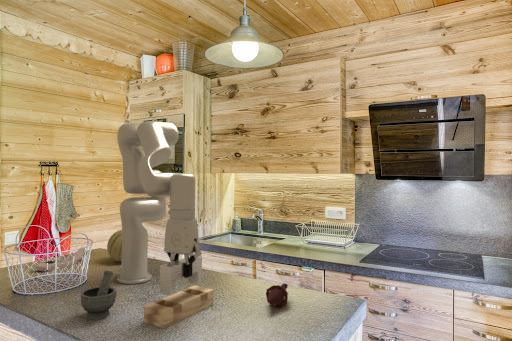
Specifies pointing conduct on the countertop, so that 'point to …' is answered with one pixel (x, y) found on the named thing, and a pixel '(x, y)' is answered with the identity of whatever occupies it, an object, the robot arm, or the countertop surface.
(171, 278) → the grey boxy piece
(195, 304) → the brown wooden rectangular block
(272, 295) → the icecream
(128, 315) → the countertop surface
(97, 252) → the countertop surface
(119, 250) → the cantaloupe
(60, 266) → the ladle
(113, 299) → the mortar and pestle
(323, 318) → the countertop surface
